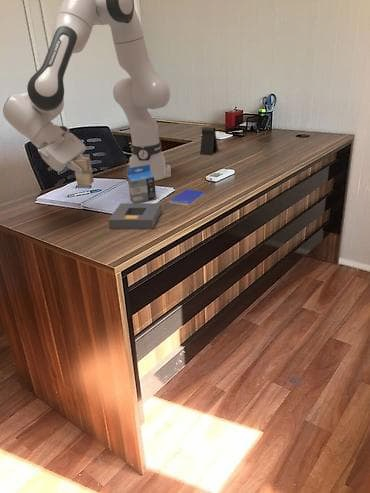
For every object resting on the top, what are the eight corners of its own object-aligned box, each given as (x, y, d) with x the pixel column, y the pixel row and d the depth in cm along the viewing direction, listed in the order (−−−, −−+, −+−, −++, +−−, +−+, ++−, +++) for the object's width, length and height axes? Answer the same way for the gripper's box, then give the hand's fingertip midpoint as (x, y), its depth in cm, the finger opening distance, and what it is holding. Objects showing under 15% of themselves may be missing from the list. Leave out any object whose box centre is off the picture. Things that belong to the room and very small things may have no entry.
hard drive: (189, 203, 148) (204, 191, 158) (168, 200, 152) (185, 189, 162) (189, 207, 149) (204, 195, 159) (168, 204, 153) (185, 192, 162)
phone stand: (211, 155, 206) (210, 130, 201) (200, 154, 209) (199, 129, 203) (218, 150, 213) (217, 126, 208) (207, 149, 216) (206, 125, 210)
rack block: (121, 211, 148) (120, 203, 146) (161, 211, 145) (160, 203, 144) (109, 228, 135) (108, 219, 134) (152, 228, 133) (151, 219, 132)
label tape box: (133, 204, 153) (129, 170, 148) (130, 200, 157) (126, 168, 151) (156, 199, 156) (153, 166, 151) (152, 196, 160) (149, 163, 154)
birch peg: (82, 181, 140) (77, 157, 137) (93, 181, 140) (89, 157, 136) (77, 185, 137) (73, 161, 133) (89, 185, 136) (85, 160, 133)
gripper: (40, 140, 123) (78, 172, 126) (67, 125, 141) (100, 153, 144) (29, 156, 126) (67, 187, 128) (57, 139, 143) (90, 167, 146)
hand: (85, 169), depth 136 cm, fingers closed on birch peg, 4 cm apart
